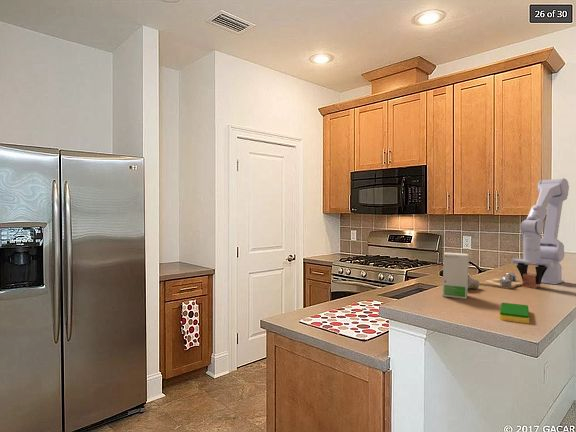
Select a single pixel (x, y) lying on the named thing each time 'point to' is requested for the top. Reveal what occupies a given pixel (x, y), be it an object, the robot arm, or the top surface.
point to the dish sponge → (514, 312)
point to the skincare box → (455, 275)
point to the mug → (473, 283)
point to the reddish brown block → (530, 280)
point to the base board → (496, 283)
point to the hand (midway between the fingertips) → (531, 283)
